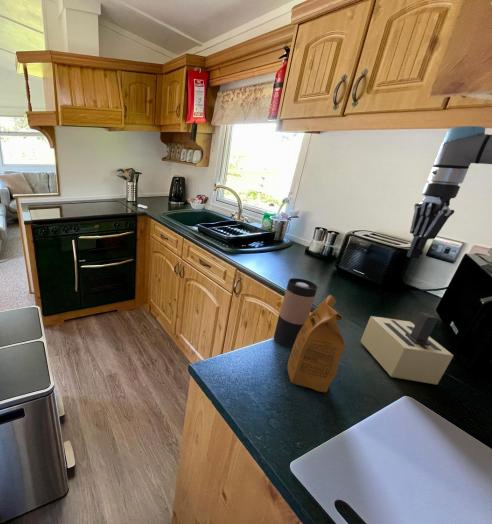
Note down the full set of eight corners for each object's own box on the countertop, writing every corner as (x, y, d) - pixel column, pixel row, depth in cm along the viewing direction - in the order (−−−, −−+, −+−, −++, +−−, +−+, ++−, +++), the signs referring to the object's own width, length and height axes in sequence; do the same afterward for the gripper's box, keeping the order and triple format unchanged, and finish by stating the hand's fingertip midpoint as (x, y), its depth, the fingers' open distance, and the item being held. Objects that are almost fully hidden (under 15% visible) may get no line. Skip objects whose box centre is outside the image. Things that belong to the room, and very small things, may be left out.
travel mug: (268, 333, 93) (283, 277, 86) (292, 335, 93) (309, 279, 86) (278, 348, 86) (295, 288, 79) (304, 350, 86) (323, 290, 79)
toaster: (359, 342, 92) (370, 315, 88) (397, 348, 90) (410, 321, 87) (390, 378, 77) (405, 347, 74) (436, 386, 76) (454, 355, 72)
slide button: (405, 334, 79) (416, 310, 76) (419, 337, 78) (431, 312, 76) (415, 343, 75) (427, 318, 72) (430, 345, 75) (443, 320, 72)
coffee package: (326, 369, 79) (353, 298, 71) (329, 400, 69) (361, 321, 61) (287, 355, 83) (308, 287, 75) (284, 383, 73) (308, 307, 65)
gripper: (414, 180, 93) (387, 250, 101) (446, 184, 81) (413, 262, 89) (440, 182, 92) (411, 252, 100) (477, 186, 80) (440, 265, 88)
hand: (412, 257), depth 95 cm, fingers closed
